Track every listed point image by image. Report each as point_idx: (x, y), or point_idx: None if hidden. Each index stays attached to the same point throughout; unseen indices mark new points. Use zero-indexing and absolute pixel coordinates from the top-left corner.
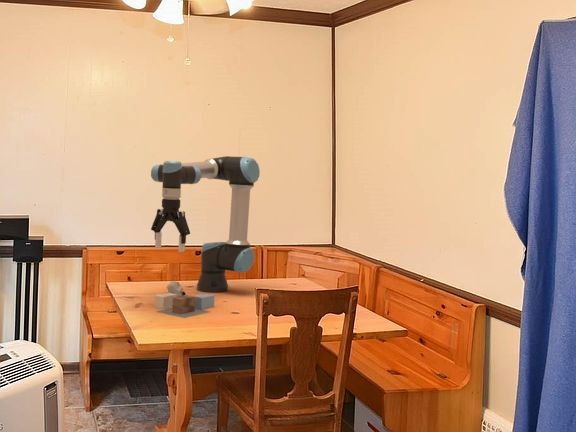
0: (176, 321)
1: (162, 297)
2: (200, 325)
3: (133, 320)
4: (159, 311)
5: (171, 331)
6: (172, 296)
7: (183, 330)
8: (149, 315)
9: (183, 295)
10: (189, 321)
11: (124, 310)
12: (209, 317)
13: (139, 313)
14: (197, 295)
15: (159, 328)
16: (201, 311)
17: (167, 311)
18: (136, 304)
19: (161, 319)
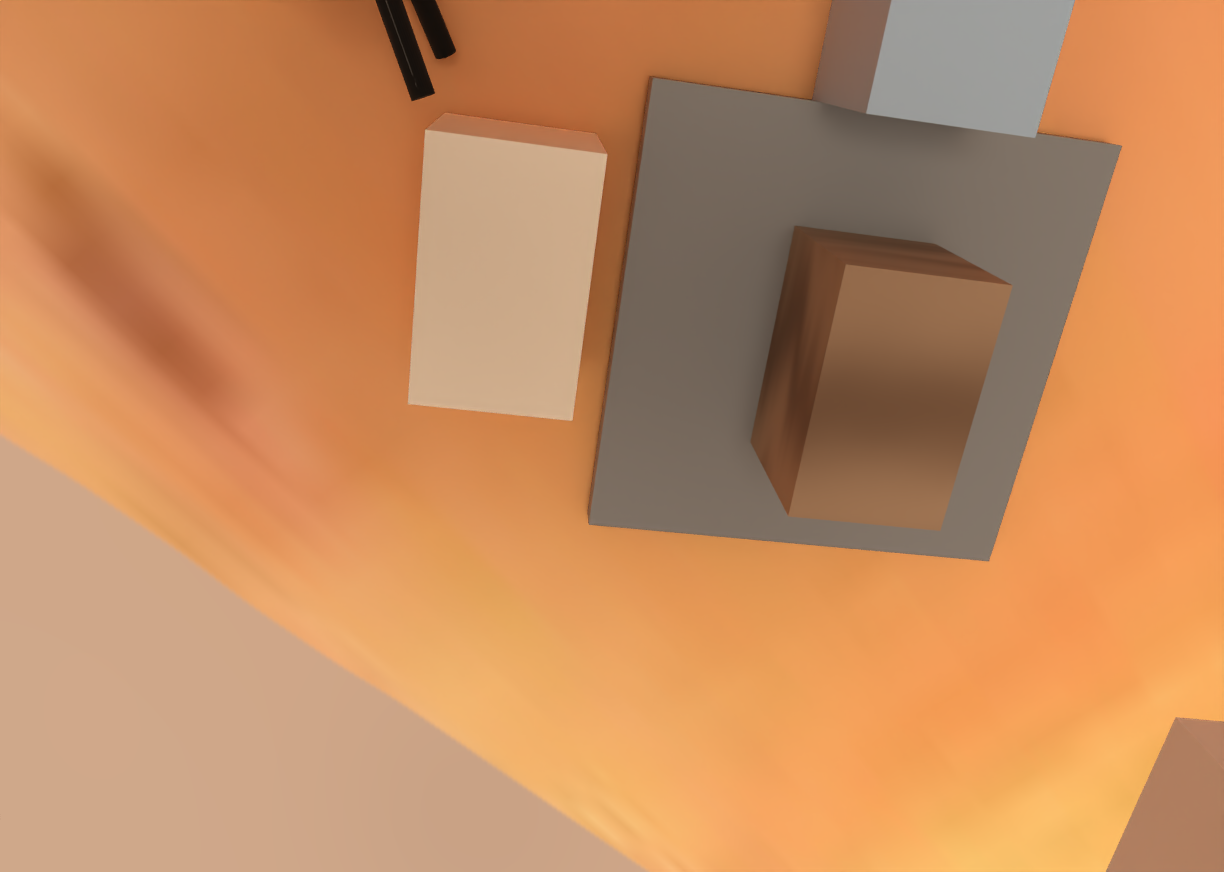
0: (928, 612)
1: (550, 414)
2: (1183, 598)
3: (592, 790)
4: (623, 500)
5: (1049, 851)
6: (592, 249)
7: (1119, 786)
8: (581, 587)
9: (837, 329)
10: (1033, 545)
11: (233, 578)
12: (1145, 295)
13: (446, 584)
14: (900, 18)
15: (925, 842)
16: (1013, 215)
17: (690, 448)
18: (76, 277)
19: (771, 635)
